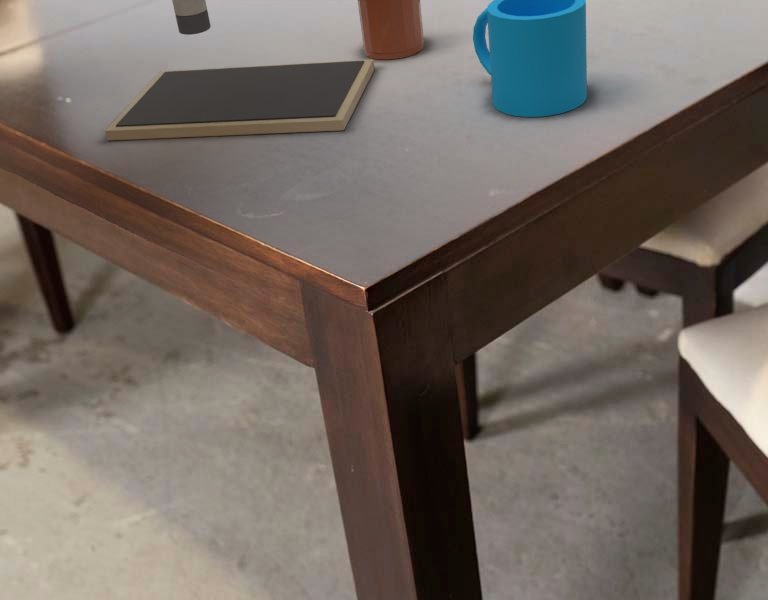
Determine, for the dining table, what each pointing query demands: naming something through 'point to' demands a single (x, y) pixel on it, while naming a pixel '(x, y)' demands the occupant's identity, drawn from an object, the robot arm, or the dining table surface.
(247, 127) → the small chalkboard
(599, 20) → the dining table surface
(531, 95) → the mug
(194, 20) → the stylus
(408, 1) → the pen cup
